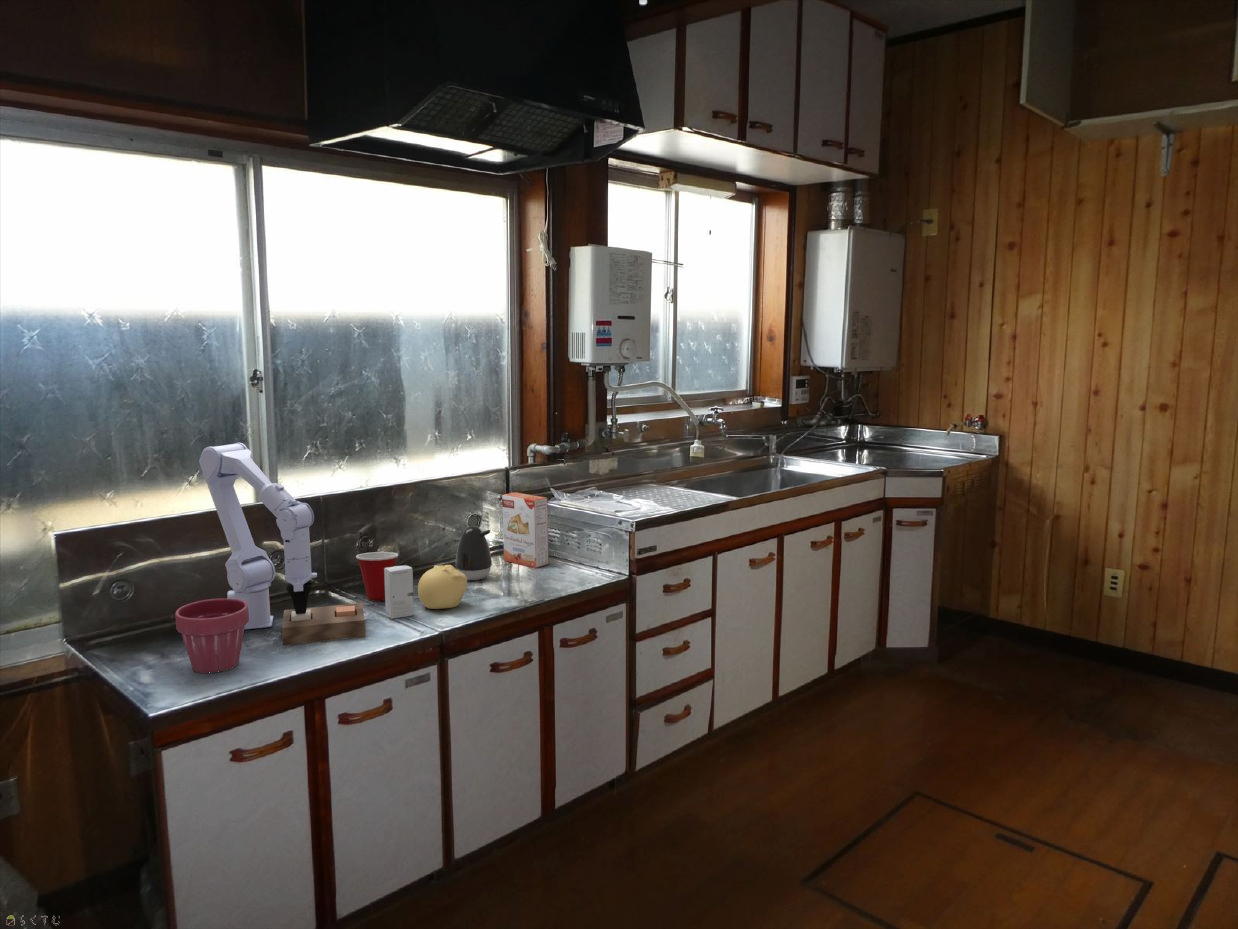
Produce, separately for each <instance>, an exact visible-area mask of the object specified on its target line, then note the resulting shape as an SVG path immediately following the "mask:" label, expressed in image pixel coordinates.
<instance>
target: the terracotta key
mask: <svg viewBox="0 0 1238 929" xmlns="http://www.w3.org/2000/svg"><path fill="white" fill-rule="evenodd" d="M336 614H337V617H341V616H351V615H355V606H344V607H336Z"/></svg>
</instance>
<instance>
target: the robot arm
mask: <svg viewBox="0 0 1238 929" xmlns="http://www.w3.org/2000/svg"><path fill="white" fill-rule="evenodd" d="M198 463H199V466H200V469H201V471H202V474H203V477H204V479H205V482H206V483H205V484H207V488H208V491H209V494H210V496H211V499H212V501H213V505H214V507H215V510H216V513H217V516H218V519H219V521H220V523H221V526H222V528H223V532H224V535H225V538H226V541H227V543H228V546H229V549H230V551H231V555H230V557H229V558H227V559H228V560H227V561H226V562H225V565H224V566H225V570H226V572H227V573H226V575H227V577H226V578H227V582H228V585H229V586H230V588H232V590H228V591H227V593H226V594H227V598H226V599H238V600H242V601H245V602H246V603H247V604H248V612H249V621H248V623H247V624H246V625H245V627H244V630H251V629H263V628H271V627H272V626H273V620H274V615H271V605H270V590H269V589H270V588H269V587H271V586H272V581H274V579H275V576H276V567H275V565H274V562H272V560H271V559H270V558H269V556H268V554H267V551H266V550H264V549H262V548H260V547H258V546H256V545H255V542H254V538H253V537H252V534H251V530H250V528H249V525H248V522H247V520H246V517H245V514H244V511H243V508H242V506H241V504H240V501H239V497H238V495H237V493H236V489H235V487H234V485H235V482H236V481H237V479H239V478H240V477H241V478H242V479H243V480H244V481H246V482H247V483H248V484H249V485H250V486H251V487H252V488H253V489H254V490H256V491H257V492H258V493H259V501H260V502H261V503H262V504H263V505H264V506H265V507H266V508H267V509H268V511H270V512H271V513H272V514H273V515H274V517H275V519H276V520H275V522H276V525H277V527H278V528H279V531H280V537H281V539H282V541H283V553H284V569H285V570H284V572H285V576H284V580H285V581H286V582H288V583H286V587H285V588H286V591H287V592H288V594H289V596H290V598H291V600H292V603H293V604H292V605H293V608H294V609H295V612H296V614H305V613H306V609H307V608H308V599H309V596H310V592H311V589H312V587H313V581H312V579H314V578H317V577H318V573H317V572H312V559H311V558H312V557H311V556H312V555H311V554H312V553H311V542H310V541H311V539H310V527H311V526H312V525H313V524H314V521H315V514H314V511H313V509H312V508H311V506H310V504H308V503H307V502H301V501H299V500H296V499H295V498H294V497H293V496H292V494H290V493H289V492H288V491H287V490H286V489H285V486H284V485H282V484H281V483H279V482H272V481H271V480H270V479H269V478H268V477H267V476H266V474H265V473H264V472H263V471H262V470H261V468H260V467H259V466H258V465H257V464H256V463H255V461H254V460H253V453H252V451H251V450H250V449H249V448H248V447H247V445H245V444H244V443H242V442H235V443H232V444H231V443H230V444H224V445H216V446H207V447H205V448H203V450H202V452H201V454H200V457H199V461H198Z"/></svg>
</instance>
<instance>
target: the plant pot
mask: <svg viewBox="0 0 1238 929" xmlns="http://www.w3.org/2000/svg"><path fill="white" fill-rule="evenodd" d="M248 621H249V612H248V604H247V603H246V602H245V601H242V600H238V599H227V598H211V599H202V600H198V601H195V602H191V603H188V604H185V605H182V606H180V607H179V608H177V610H176V611H175V628H176V629H175V630H176V631H177V632H178V633H180V634H181V637H182V640H183V643H184V647H185V649H186V653H187V656H188V658H189V662H190V666H191V668H192V670H193V672H195V671H196V673H198V672H200V673H199V674H212V673H211V672H217V673H219V672H218V671H222V672H225V671H224V670H226V671H228V670H227V669H229V670H231V669H230V668H232V667H234V668H235V667H236V665H237V664H238V665H239V663H240V657H241V652H242V646H243V639H244V633H245V629H244V627H245V625H246V624H247V623H248ZM238 665H237V666H238ZM232 669H233V668H232ZM209 672H210V673H209Z"/></svg>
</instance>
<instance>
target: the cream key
mask: <svg viewBox="0 0 1238 929" xmlns="http://www.w3.org/2000/svg"><path fill="white" fill-rule="evenodd" d="M310 619H311V610H306V613H305V614H296V612H295V611H292V613H291V621H299V620H310Z"/></svg>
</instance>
